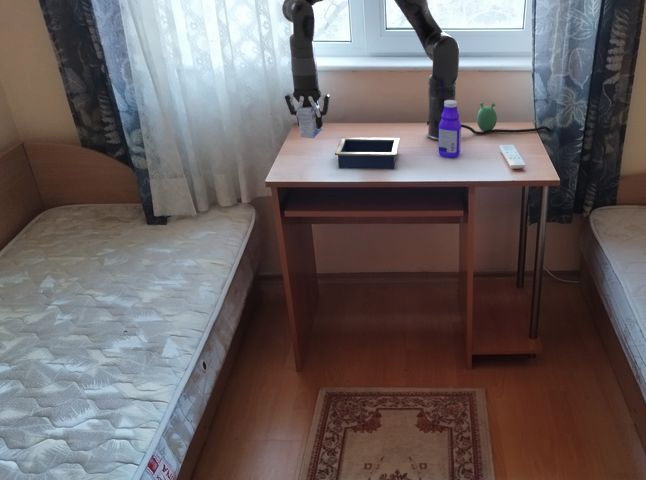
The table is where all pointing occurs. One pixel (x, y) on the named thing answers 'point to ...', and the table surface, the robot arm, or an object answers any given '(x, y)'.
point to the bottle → (449, 131)
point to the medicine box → (308, 122)
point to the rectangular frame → (367, 153)
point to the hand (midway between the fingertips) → (310, 127)
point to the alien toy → (486, 117)
